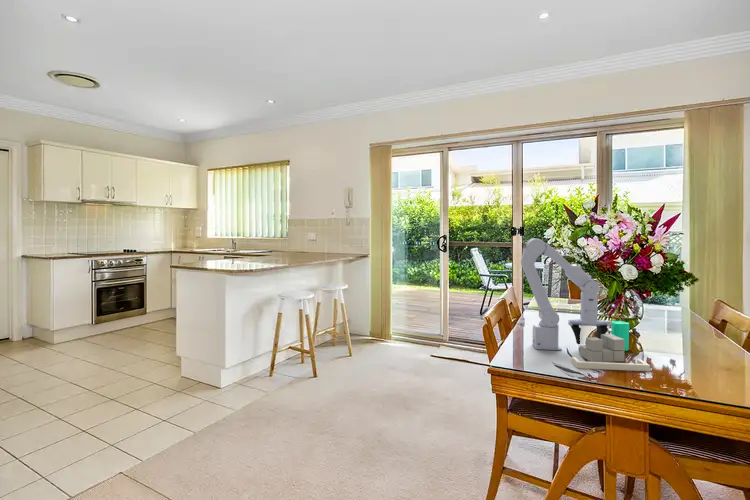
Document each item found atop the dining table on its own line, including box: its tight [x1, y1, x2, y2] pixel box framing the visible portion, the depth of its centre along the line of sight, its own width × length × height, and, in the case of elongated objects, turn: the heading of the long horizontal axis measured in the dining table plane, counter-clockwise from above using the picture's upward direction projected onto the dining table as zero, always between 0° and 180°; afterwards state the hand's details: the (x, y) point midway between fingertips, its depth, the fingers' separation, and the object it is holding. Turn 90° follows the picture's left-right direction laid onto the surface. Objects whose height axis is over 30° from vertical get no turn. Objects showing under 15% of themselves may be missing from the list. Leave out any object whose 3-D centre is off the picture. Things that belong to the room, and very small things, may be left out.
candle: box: [610, 318, 630, 352], centre depth 156 cm, size 6×6×12 cm
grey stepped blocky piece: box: [578, 333, 625, 363], centre depth 147 cm, size 12×12×8 cm
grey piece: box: [570, 356, 651, 372], centre depth 136 cm, size 22×6×2 cm, turn 80°
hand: (588, 344), depth 155 cm, fingers open, 7 cm apart
